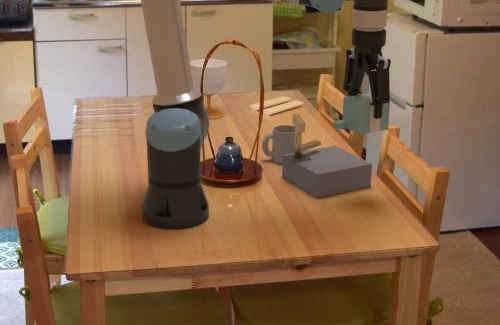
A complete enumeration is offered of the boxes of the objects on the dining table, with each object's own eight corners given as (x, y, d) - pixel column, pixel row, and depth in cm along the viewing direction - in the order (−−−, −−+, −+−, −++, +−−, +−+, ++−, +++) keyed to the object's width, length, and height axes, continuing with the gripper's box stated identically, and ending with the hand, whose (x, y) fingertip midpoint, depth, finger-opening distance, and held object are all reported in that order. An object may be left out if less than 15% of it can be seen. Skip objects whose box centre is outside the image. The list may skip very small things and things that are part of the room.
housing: (314, 198, 193) (315, 174, 191) (280, 177, 206) (280, 154, 204) (370, 186, 201) (372, 163, 198) (334, 167, 214) (335, 144, 212)
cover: (349, 135, 182) (351, 105, 179) (333, 127, 188) (334, 98, 185) (388, 129, 186) (390, 100, 184) (370, 121, 192) (372, 93, 190)
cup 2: (300, 164, 215) (301, 132, 212) (263, 165, 214) (263, 133, 211) (296, 155, 222) (297, 124, 219) (260, 156, 221) (260, 125, 218)
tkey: (327, 161, 199) (329, 122, 196) (297, 162, 198) (298, 123, 195) (319, 148, 208) (320, 111, 205) (290, 150, 207) (290, 112, 204)
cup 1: (231, 111, 263) (231, 59, 257) (221, 121, 252) (221, 68, 246) (196, 109, 265) (195, 57, 260) (185, 119, 255) (184, 65, 249)
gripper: (411, 34, 173) (404, 136, 181) (356, 19, 189) (352, 114, 197) (383, 37, 170) (377, 141, 177) (329, 22, 186) (326, 118, 194)
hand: (364, 126), depth 187 cm, fingers closed on cover, 7 cm apart
